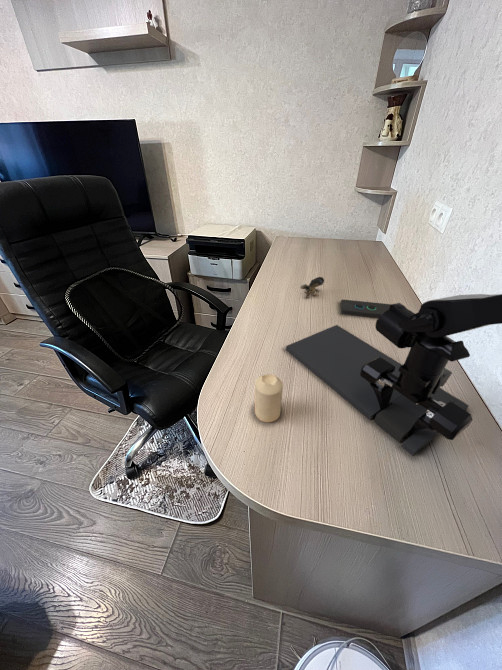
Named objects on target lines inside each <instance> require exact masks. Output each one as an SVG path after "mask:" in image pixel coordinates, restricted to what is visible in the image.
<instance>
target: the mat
mask: <svg viewBox="0 0 502 670" xmlns="http://www.w3.org/2000/svg"><path fill="white" fill-rule="evenodd" d="M285 346H286V347H285V351H286V352H287V353H289V355H291V356H292V357H293V358H295V359H296V360H297V361H298V362H299V363H301V364H302V365H303V366H305V367H306V368H307V369H308V370H309V371H310V372H312V373H313V374H314V375H315V376H316V377H318V378H319V379H320V380H321V381H322V382H324V383H325V384H326V385H327V386H328V387H330V388H331V389H332V390H333V391H334V392H335V393H337V394H338V395H339V396H340V397H342V398H343V399H344V400H345V401H346V402H348V404H350V405H351V406H352V407H353V408H355V409H356V410H357V411H358V412H359V413H361V414H362V415H363V416H364V417H366V418H367V419H368V420H369V421H372V419H375V417H376V415H377V414H378V413H379V412H381V409H380V406H379V403H378V400H377V397H376V394H375V392H374V390H373V388H372V387H371V386H370V383H369V382H368V381H367V380H365V379H364V378H363V377H361V376H360V372H361V368H362V367H363V365H364V364H366V363H368V362H370V361H372V360H374V359H375V358H378V357H381V358H383V359H384V360H386V361H387V362H389V363H391V364H392V365H394V366H395V367H396V368H395V371H394V372H392V374H394V375H395V376H397V377H399V375H400V372H399V371H398V370H399V368H400V366H402V365H403V364H402V363H400V362H399V361H397V360H395V359H394V358H392V357H391V356H389V355H387V354H386V353H384V352H382V351H380V350H379V349H378V348H375V347H374V346H372V345H370V344H369V343H367V342H366V341H364V340H362V339H361V338H359V337H357V336H356V335H354V334H353V333H351V332H349V331H348V330H346V329H345V328H343V327H341V326H339V325H338V324H335V325H333V326H331V327H328V328H326V329H323V330H321V331H319V332H316V333H314V334H311V335H309V336H307V337H304V338H301V339H299V340H297V341H295V342H293V343H290V344H287V345H285ZM430 397H431V398H433V399H434V400H436V401H441V402H443V403H445V404H447V403H449V402H450V401H451V402H452V403H454V404H456V405H457V406H459V407H460V408H462V409H464V410H465V411H467V409H468V408H469V406H470V405H469V404H467V403H465V402H464V401H462V400H461V399H459V398H457V397H455V396H454V395H452V394H451V393H449V392H448V391H446V390H444V389H442V387H440V388H439V390H438V392H437V393H435V394H432V393H431V395H430ZM394 402H395V403H397V404H398V405H399V406H401V407H402V408H403V409H405V410H406V411H408V412H409V413H410V414H412V415H413V416H414V417H416V418H417V419H418V418H420V417H421V416H422V415H423V414H425V413H426V411H427V409H426V408H424V407H423V406H421V405H420V404H419V405H417V404H415V403H414V402H412V401H411V400H409V399H408V398H406V397H405V396H404V395H402V394H401V393H399V392H398V391H396V390H395V389H394V390H393V393H392V396H391V399H390V402H389V405H391V404H392V403H394ZM389 405H388V406H389ZM439 434H440V433H438V432H437V431H436V430H435V431H431V430H429V429H428V428H426V429H422V430H419V431H417V432H415V433H413V434H410V435H409V436H408V437H407V438H405V439H404V440H403V441H402V444H401V445H400V447H401V448H402V449H404V450H405V451H406V452H407V453H409V454H410V455H411V456H412V457H413V456H414V455H416V454H417V453H418V452H419V451H420V450H422V449H423V448H424V447H425V446H426V445H428V444H429V443H430V442H431V441H432V440H434V438H436V437H437V436H438V435H439Z"/></svg>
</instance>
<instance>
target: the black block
mask: <svg viewBox="0 0 502 670" xmlns="http://www.w3.org/2000/svg"><path fill="white" fill-rule="evenodd" d="M416 421H417V418H416V417H414V416H413V415H412V414H410V413H409V412H408V411H406V410H405V409H403V408H402V407H401V406H399V405H398V404H397V403H395V402H394V403H392V404H391V405H389V406H388V407H386V408H385V409H383V410H382V411H381V412H379V413H378V414H377V415H376V416H375V417H374V420H373V422H374V423H375V424H376V425H377V426H378V427H379V428H380V429H382V430H383V431H384V432H385V433H387V435H389V436H390V437H392V438H393V440H395V441H396V442H397V443H399V444H400V443H401V442H404V441H405V440H406V439H407V438H409V437H410V436H411V434H409V432H410V429H411V428H412V426H413V425H414V423H415V422H416Z"/></svg>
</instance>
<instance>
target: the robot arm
mask: <svg viewBox="0 0 502 670" xmlns="http://www.w3.org/2000/svg"><path fill="white" fill-rule="evenodd" d="M390 304H391V305H390V308H389V310H387V311H386V312H384V313H383V314H382V315H381V316H380V318H377V320H376V322H375V330H376V331H377V332H378V333H379V334H380V335H382V336H383V337H384V338H386V339H387V340H388V341H389V342H390V343H391V344H393V345H394V346H395V347H396V348H398V349H407V348H408V349H409V351H408V353H407V356H406V358H405V361H404V363H403V364H402V366H400V368H399V370H398V371H399V372H400V375H399V377H397V376H395V375H394V374H392V372H394V371H395V368H396V367H395V366H394V365H392V364H391V363H389V362H387V361H386V360H384V359H383V358H381V357H378V358H375V359H374V360H372V361H370V362H368V363H366V364H364V365H363V367H362V368H361V372H360V376H361V377H363V378H364V379H365V380H367V381H368V382H369V383H370V386H371V387H372V388H373V390H374V392H375V394H376V397H377V400H378V403H379V406H380V409H381V411H382V410H383V409H385V408H386V407H388V405H389V402H390V399H391V396H392V393H393V390H394V389H395V390H396V391H398V392H399V393H401V394H402V395H404V396H405V397H406V398H408V399H409V400H411V401H412V402H414V403H415V404H417V405H419V404H420V405H421V406H423V407H424V408H426V409H427V411H426V413H425V414H423V415H422V416H421V417H420V418H418V419H417V421H416V422H415V423H414V425H413V426H412V428H411V429H410V432H409V434H410V435H413V434H414V433H415V432H417V431H419V430H422V429H426V428H428V429H429V430H431V431H435V430H436V431H437V432H438V433H439V434H440V436H443V437H444V438H445V439H447V440H450V441H454V440H455V439H456V438H457V437H458V436H459V435H460V434H461V433H463V432H464V431H465V430H466V429H467V428H468V427H469V426H470V424H471V423H472V421H473V415H472V413H470V412H469V411H467V410H466V411H465V410H464V409H462V408H460V407H459V406H457V405H456V404H454V403H452V402H451V401H450V402H449V403H447V404H445V403H443V402H441V401H436V400H434V399H433V398H431V397H430V395H431V393H432V394H435V393H437V392H438V390H439V388H441V387H444V386H445V384H446V383H447V381H448V380H449V379H450V377H451V376H452V374H453V372H452V371H451V370H450V369H449V368H446V367H447V366H448V364H449V362H451V363H452V362H456V361H459V360H463V359H468V358H470V357H471V354H470V351H469V349H468V348H467V347H466V346H465V344H464V341H463V340H458V341H456V340H454V339H452V338H451V337H449V336H451V335H456V334H460V333H461V334H462V333H465V332H469V331H472V330H476V329H480V328H484V327H488V326H491V325H492V326H493V325H500V324H502V293H500V294H499V293H498V294H488V293H487V294H485V293H475V294H472V293H471V294H458V295H452V296H447V297H441V298H437V299H431V300H427V301H424V302H423V303H422V304H421V305H420V307H419V310H418V312H416V313H415V312H413V311H412V310H410V309H409V308H408V307H406V306H405V305H404V304H402V303H401V302H397V303H390Z"/></svg>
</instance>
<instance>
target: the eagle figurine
mask: <svg viewBox="0 0 502 670" xmlns="http://www.w3.org/2000/svg"><path fill="white" fill-rule="evenodd" d="M324 283H325V279H324V277H323V276H318V277H316V278H313V279H311V281H310V282H309V284H306V283H304V284H301V285H300V286H299V288H300V289H301V290H305V291H303V293H304V294H306V297H305V298H306V299H307V298H308V297H310V295H311V294H313V295H315V296H317V291H318V289H316V288H318V287H319V286H320V287H321V286H322V285H324Z"/></svg>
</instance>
